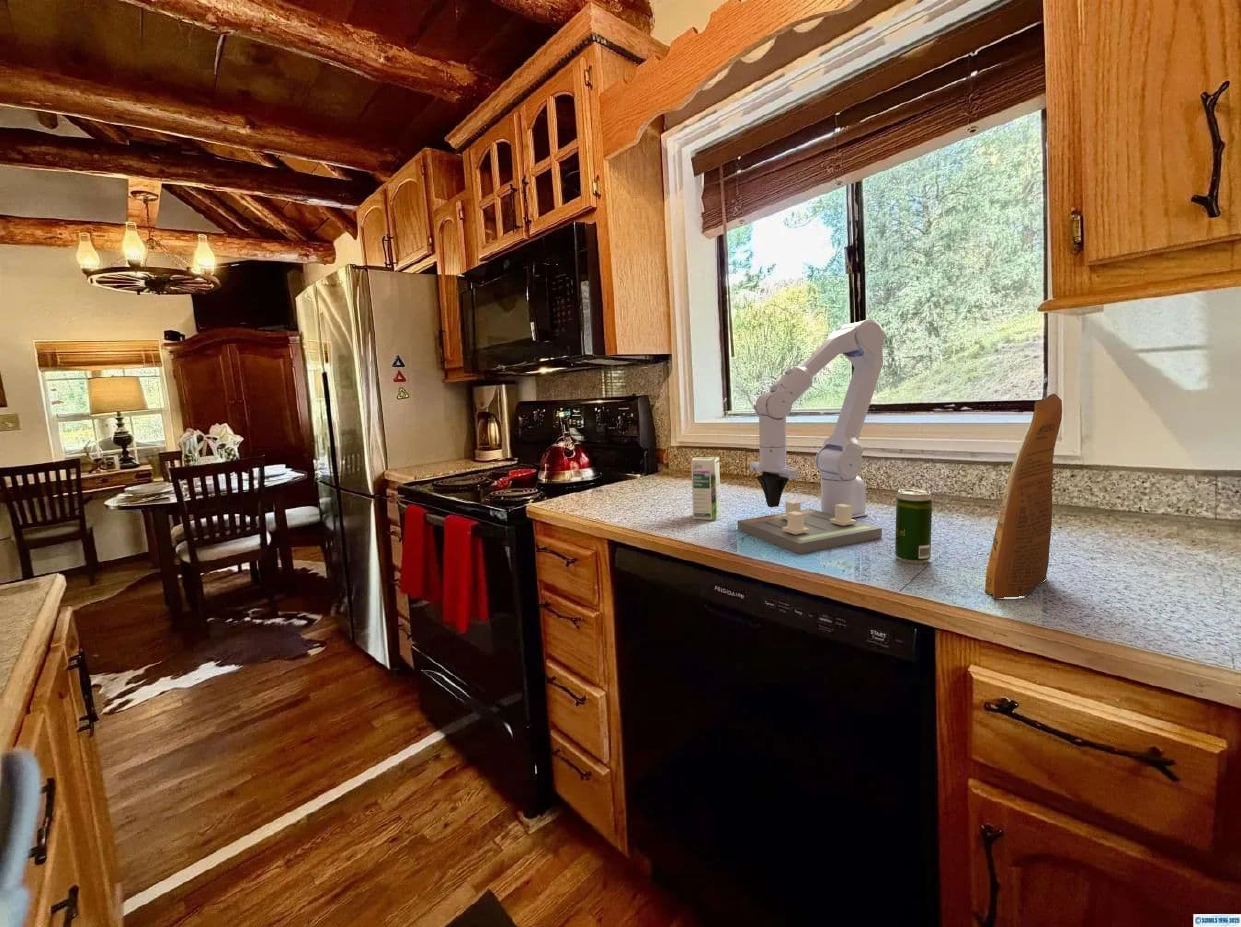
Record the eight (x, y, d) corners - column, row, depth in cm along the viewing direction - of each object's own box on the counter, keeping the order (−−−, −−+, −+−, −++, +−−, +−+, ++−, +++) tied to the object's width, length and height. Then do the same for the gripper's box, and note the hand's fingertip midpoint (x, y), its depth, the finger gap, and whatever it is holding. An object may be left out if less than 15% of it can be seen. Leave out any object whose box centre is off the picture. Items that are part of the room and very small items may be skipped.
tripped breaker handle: (794, 515, 117) (794, 499, 117) (805, 518, 114) (805, 502, 114) (780, 517, 116) (780, 501, 116) (791, 521, 113) (791, 504, 112)
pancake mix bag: (1069, 576, 82) (1082, 392, 78) (1027, 612, 71) (1040, 398, 67) (1017, 565, 88) (1026, 393, 84) (970, 598, 76) (979, 399, 72)
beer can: (937, 561, 92) (939, 492, 90) (916, 567, 89) (918, 496, 88) (908, 553, 96) (910, 487, 95) (888, 558, 94) (889, 491, 92)
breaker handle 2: (843, 519, 112) (843, 502, 112) (856, 523, 109) (856, 505, 108) (829, 521, 111) (829, 504, 110) (842, 525, 108) (843, 508, 107)
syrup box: (692, 519, 128) (690, 459, 126) (698, 514, 133) (696, 455, 131) (716, 520, 126) (714, 459, 124) (721, 514, 131) (719, 455, 129)
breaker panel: (810, 517, 125) (810, 508, 124) (881, 537, 106) (881, 527, 106) (737, 529, 117) (737, 520, 117) (800, 553, 99) (799, 543, 99)
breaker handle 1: (796, 527, 108) (796, 510, 107) (809, 531, 105) (809, 513, 104) (782, 530, 107) (782, 512, 106) (794, 534, 103) (794, 516, 103)
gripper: (738, 445, 124) (739, 502, 126) (778, 450, 111) (779, 515, 113) (763, 442, 127) (764, 499, 129) (806, 448, 114) (806, 510, 116)
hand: (773, 506), depth 121 cm, fingers closed
